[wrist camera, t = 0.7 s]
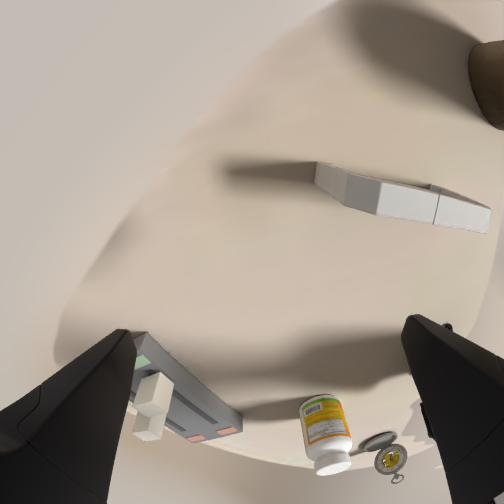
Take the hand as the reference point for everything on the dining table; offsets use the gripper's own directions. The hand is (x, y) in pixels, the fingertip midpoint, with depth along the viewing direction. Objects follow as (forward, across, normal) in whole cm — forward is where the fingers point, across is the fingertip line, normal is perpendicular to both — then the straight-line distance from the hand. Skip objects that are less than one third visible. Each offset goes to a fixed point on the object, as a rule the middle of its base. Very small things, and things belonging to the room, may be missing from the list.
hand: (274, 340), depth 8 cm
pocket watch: (+14, -23, +42) cm, 50 cm away
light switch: (+14, -10, -2) cm, 17 cm away
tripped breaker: (+11, +12, +21) cm, 27 cm away
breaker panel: (+13, +10, +20) cm, 26 cm away
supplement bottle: (+14, -8, +25) cm, 29 cm away
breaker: (+11, +10, +15) cm, 21 cm away
